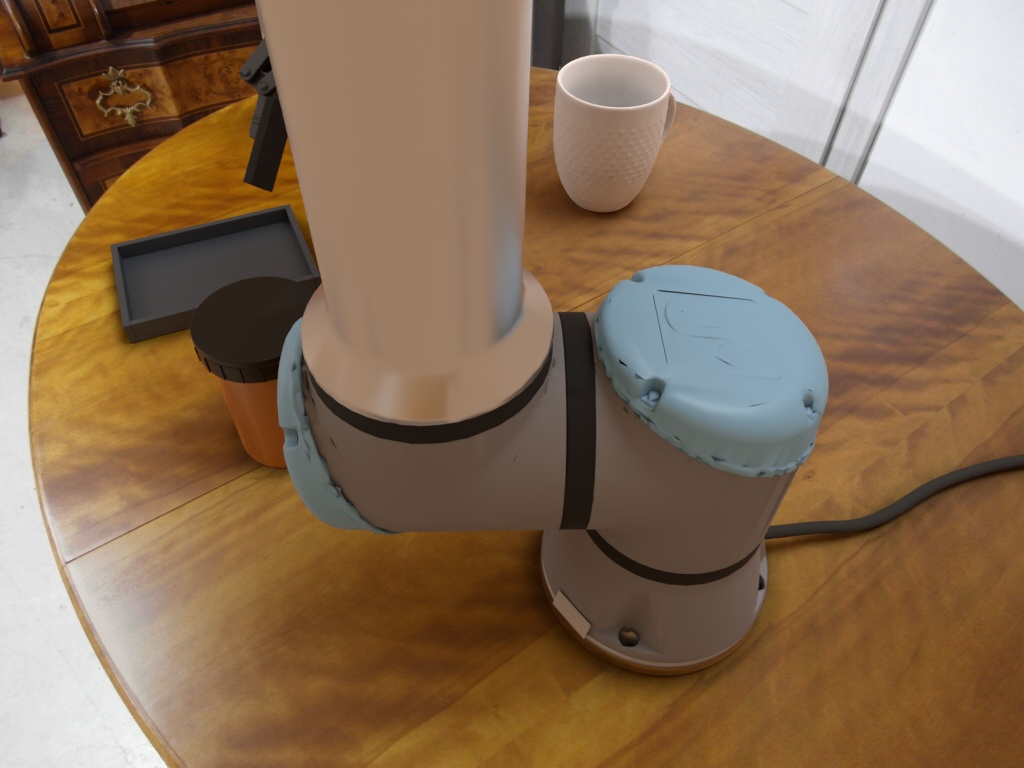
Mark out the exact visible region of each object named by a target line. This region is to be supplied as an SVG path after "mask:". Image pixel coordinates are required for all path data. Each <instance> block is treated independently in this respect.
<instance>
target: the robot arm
mask: <svg viewBox="0 0 1024 768" xmlns="http://www.w3.org/2000/svg"><path fill="white" fill-rule="evenodd" d="M533 2H534V1H533V0H256V3H257V7H258V11H259V16H260V20H261V24H262V28H263V33H264V39H263V38H262V39H261V41H260V43H258V45H257V46H256V47H255V49H254V50H253V52H251V54H250V55H249V57H247V60H245V62H244V63H243V64H242V66H241V67H240V70H239V77H240V79H241V80H243V81H244V82H246V83H247V84H248V85H250V86H251V87H252V88H253V89H255V91H256V92H257V100H256V103H255V108H254V112H253V115H252V120H251V123H250V126H249V129H248V130H249V138H251V139H252V140H254V141H253V144H252V146H251V147H252V148H251V152H250V154H249V159H248V162H247V166H246V170H245V173H244V177H243V180H242V182H243V183H246V184H247V185H250V186H253V187H254V188H255V187H256V188H258V189H261V190H263V191H265V192H269V193H273V191H274V188H275V184H276V179H277V177H278V173H279V169H280V167H281V162H282V159H283V155H284V151H285V149H286V144H287V141H288V143H289V146H290V151H291V155H292V161H293V164H294V168H295V172H296V173H295V174H296V178H297V182H298V186H299V189H300V194H301V198H302V203H303V207H304V212H305V216H306V219H307V223H308V224H307V225H308V229H309V233H310V237H311V240H312V246H313V249H314V254H315V258H316V261H317V262H316V263H317V266H318V267H317V268H318V272H319V274H320V277H321V281H322V283H321V285H320V286H319V287H318V288H317V290H316V291H315V292H314V294H313V295H312V297H311V299H310V301H309V302H308V304H307V306H306V309H305V312H304V315H303V317H301V318H300V319H299V320H298V321H296V323H295V324H294V325H293V326H292V328H291V330H290V331H289V333H288V335H287V337H286V339H285V342H284V345H283V349H282V353H281V358H280V364H279V370H278V383H277V405H278V416H279V426H280V427H282V428H283V430H284V434H285V443H284V446H283V451H284V457H285V461H286V464H287V468H286V469H287V471H288V474H289V477H290V479H291V483H292V484H293V487H294V489H295V491H296V493H297V495H298V497H299V498H300V500H301V501H302V503H303V505H304V506H305V507H306V509H307V510H308V511H309V512H310V513H311V514H312V515H313V516H314V517H315V518H316V519H317V520H318V521H320V522H321V523H323V524H325V525H327V526H329V527H332V528H335V529H340V530H349V531H369V532H370V533H373V534H375V535H376V534H377V535H384V536H391V535H398V534H403V533H442V532H443V533H445V532H446V533H447V532H448V533H450V532H451V533H452V532H507V531H509V532H511V531H513V532H515V531H543V532H542V537H541V544H540V545H541V546H540V555H539V556H540V558H539V560H540V562H539V563H540V565H539V568H540V576H541V582H542V587H543V590H544V594H545V596H546V599H547V601H548V603H549V606H550V608H551V610H552V611H553V613H554V616H555V617H556V618H557V620H558V621H559V623H560V624H561V625H562V627H563V629H565V630H566V632H568V633H569V635H570V636H571V637H572V638H573V639H574V640H575V641H576V642H577V643H578V644H580V645H581V646H582V647H583V648H584V649H586V650H587V651H589V652H590V653H592V655H595V656H596V657H597V658H600V660H603V661H605V662H607V663H609V664H611V665H613V666H616V667H618V668H620V669H624V670H627V671H630V672H633V673H638V674H643V675H649V676H650V675H651V676H663V677H665V676H666V677H668V676H680V675H685V674H686V675H687V674H691V673H694V672H695V673H696V672H699V671H702V670H704V669H708V668H709V667H712V666H714V665H715V664H717V663H720V662H721V661H723V660H724V659H725V658H727V657H728V656H730V655H731V654H732V653H733V652H735V650H737V649H738V648H739V646H740V645H741V644H742V643H743V642H744V641H745V640H746V638H747V636H748V635H749V634H750V632H751V631H752V629H753V627H754V625H755V623H756V622H757V620H758V618H759V616H760V614H761V613H762V610H763V607H764V605H765V602H766V599H767V594H768V588H769V564H768V563H769V562H768V558H767V549H766V540H775V539H784V538H785V539H786V538H792V537H802V536H803V537H804V536H810V535H811V536H812V535H832V534H849V533H850V534H851V533H855V532H861V531H866V530H870V529H872V528H875V527H878V526H880V525H883V524H885V523H887V522H889V521H891V520H893V519H896V518H897V517H899V516H901V515H903V514H904V513H906V512H907V511H908V510H910V509H912V508H914V507H915V506H917V505H918V504H919V503H921V502H923V501H924V500H925V499H927V498H929V497H930V496H932V495H934V494H936V493H937V492H940V491H941V490H944V489H946V488H949V487H951V486H953V485H956V484H959V483H962V482H964V481H968V480H971V479H974V478H977V477H980V476H983V475H986V474H990V473H995V472H1000V471H1003V470H1009V469H1013V468H1014V469H1015V468H1020V467H1024V453H1021V454H1015V455H1010V456H1004V457H998V458H994V459H991V460H987V461H982V462H979V463H975V464H972V465H969V466H968V465H967V466H965V467H963V468H959V469H956V470H954V471H950V472H948V473H945V474H943V475H940V476H937V477H935V478H933V479H931V480H929V481H927V482H925V483H923V484H921V485H920V486H918V487H916V488H915V489H913V490H911V491H910V492H909V493H907V494H905V495H903V496H902V497H900V498H899V499H898V500H896V501H895V502H893V503H891V504H890V505H888V506H885V507H884V508H882V509H880V510H878V511H875V512H873V513H871V514H868V515H865V516H861V517H857V518H852V519H842V520H837V519H836V520H815V521H814V520H811V521H803V522H792V523H783V524H774V525H771V524H772V523H773V521H774V518H775V517H776V514H777V512H778V511H779V509H780V507H781V505H782V502H783V500H784V498H785V497H786V495H787V493H788V490H789V488H790V487H791V485H792V482H793V480H794V478H795V477H796V475H797V473H798V471H799V468H800V467H801V466H802V465H804V464H805V462H806V461H807V459H808V458H809V456H810V454H811V453H812V451H813V450H814V448H815V444H816V442H817V441H816V440H817V434H818V431H819V428H820V425H821V421H822V418H823V415H824V412H825V410H826V408H827V407H826V406H827V402H828V398H829V391H830V389H829V388H830V387H829V386H830V385H829V383H830V382H829V379H830V377H829V373H828V367H827V363H826V360H825V357H824V355H823V352H822V350H821V349H822V348H821V347H820V345H819V344H818V342H817V340H816V338H815V337H814V335H813V333H812V332H811V331H810V330H809V328H808V327H807V326H806V325H805V323H804V322H803V321H802V319H800V317H799V316H798V315H797V314H796V313H795V312H794V311H792V309H790V308H789V307H788V306H787V305H786V304H784V303H783V302H781V301H779V300H777V299H776V298H774V297H772V296H770V295H769V294H768V293H766V292H765V290H764V289H763V288H761V287H760V286H758V285H756V284H754V283H752V282H750V281H748V280H746V279H744V278H741V277H738V276H736V275H733V274H730V273H727V272H725V271H721V270H717V269H714V268H709V267H704V266H697V265H689V264H664V265H656V266H652V267H646V268H644V269H640V270H638V271H636V272H634V273H633V274H632V276H631V278H630V279H627V278H625V279H623V280H620V281H618V282H617V283H616V284H615V285H614V286H613V287H612V288H611V289H610V290H609V292H608V293H607V294H606V296H605V298H604V299H603V300H601V303H600V305H599V306H598V307H597V311H553V306H552V304H551V300H550V299H549V296H548V295H547V292H546V291H545V289H544V288H543V286H542V284H541V283H540V281H539V280H538V279H537V278H536V277H535V275H534V274H533V273H531V272H530V271H529V269H527V268H526V267H525V266H524V255H525V254H524V253H525V252H524V251H525V224H526V200H527V198H526V197H527V196H526V195H527V169H528V166H527V165H528V143H529V142H528V141H529V139H528V138H529V115H530V114H529V110H530V109H529V108H530V87H531V85H530V82H531V81H530V80H531V58H532V57H531V53H532V28H533V27H532V26H533ZM256 3H255V4H256Z"/></svg>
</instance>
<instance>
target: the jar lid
mask: <svg viewBox="0 0 1024 768" xmlns="http://www.w3.org/2000/svg"><path fill="white" fill-rule="evenodd" d="M312 295H313V293H312V292H311V291H310V290H309V289H308V288H307V287H305V286H304V285H302V284H300V283H298V282H296V281H293V280H290V279H286V278H281V277H270V276H265V277H253V278H248V279H243V280H240V281H236V282H234V283H231V284H228V285H226V286H224V287H222V288H220V289H218V290H217V291H215V292H214V293H212V294H211V295H209V296H208V297H207V298H206V299H205V300H204V301H203V302H202V303H201V304H200V305H199V306H198V308H197V309H196V311H195V312H194V314H193V317H192V319H191V323H190V328H189V334H190V339H191V341H192V344H193V345H194V347H193V349H194V351H195V353H196V356H197V358H198V362H200V363H202V365H203V366H204V367H205V368H206V371H208V373H211V374H213V375H214V376H215V375H216V376H218V377H219V378H222V379H224V380H228V381H231V382H236V383H243V384H245V383H262V382H268V381H272V380H276V379H278V370H279V364H280V358H281V353H282V349H283V345H284V342H285V339H286V337H287V335H288V333H289V331H290V330H291V328H292V326H293V325H294V324H295V323H296V321H298V320H299V319H300V318H301V317H303V315H304V312H305V309H306V306H307V304H308V302H309V301H310V299H311V297H312Z"/></svg>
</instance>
